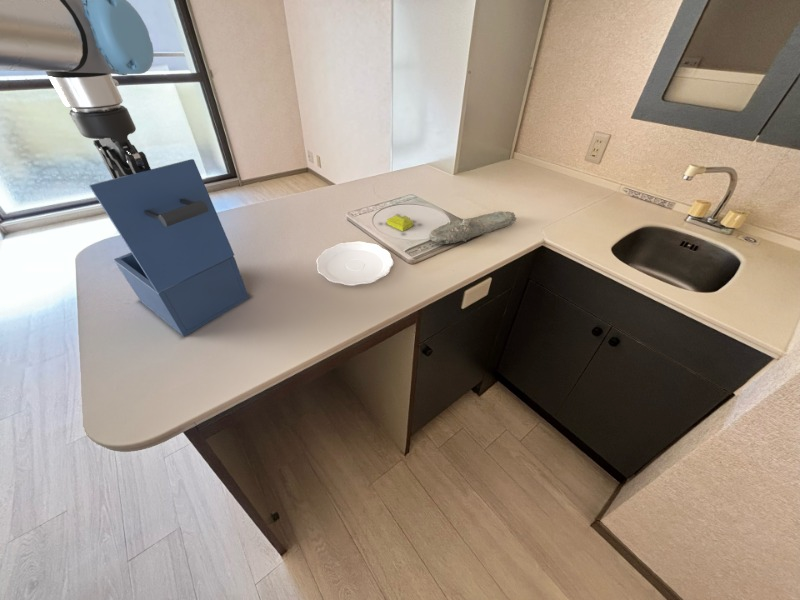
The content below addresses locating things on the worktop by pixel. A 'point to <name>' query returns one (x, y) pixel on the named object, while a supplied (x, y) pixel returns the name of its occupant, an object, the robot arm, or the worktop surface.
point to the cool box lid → (166, 221)
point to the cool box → (188, 293)
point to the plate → (354, 263)
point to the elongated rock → (471, 227)
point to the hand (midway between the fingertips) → (161, 234)
